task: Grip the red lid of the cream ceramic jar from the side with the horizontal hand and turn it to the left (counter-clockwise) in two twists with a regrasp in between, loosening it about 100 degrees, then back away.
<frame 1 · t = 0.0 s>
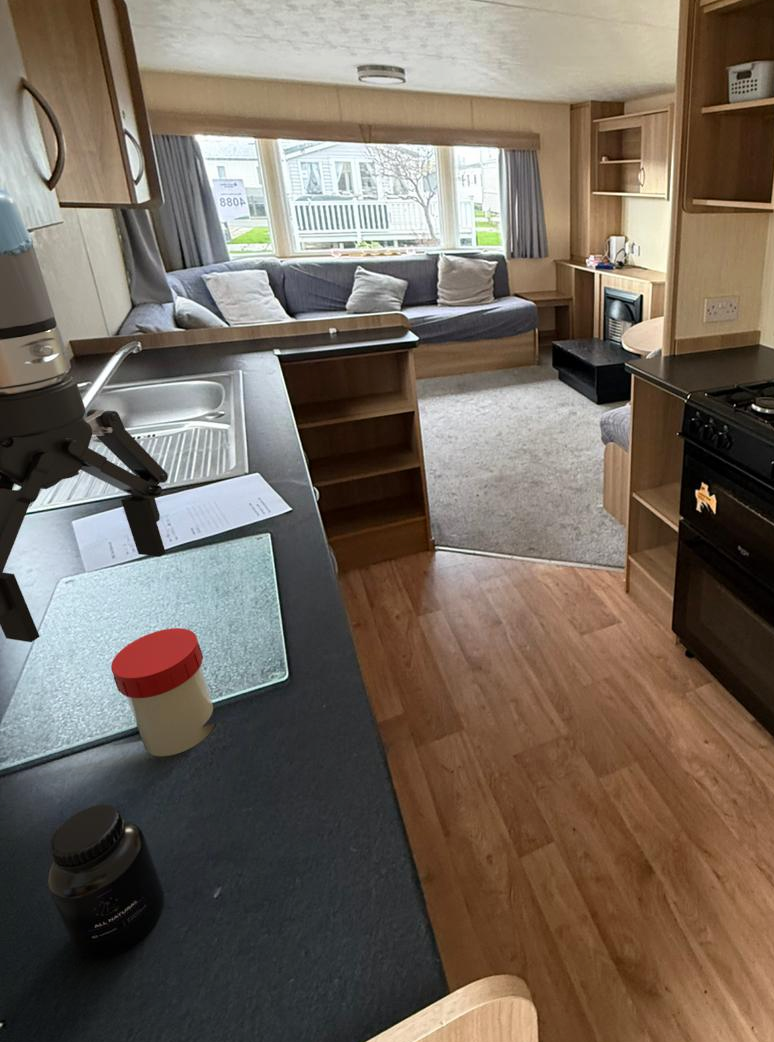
hand: (94, 591, 63), 26 cm above the counter, tool pointing down, fingers open, 13 cm apart
lid: (156, 655, 75), point 12 cm above the counter, screwed on, not yet turned
supplement bottle: (123, 921, 59), on the counter
jar: (181, 730, 79), on the counter
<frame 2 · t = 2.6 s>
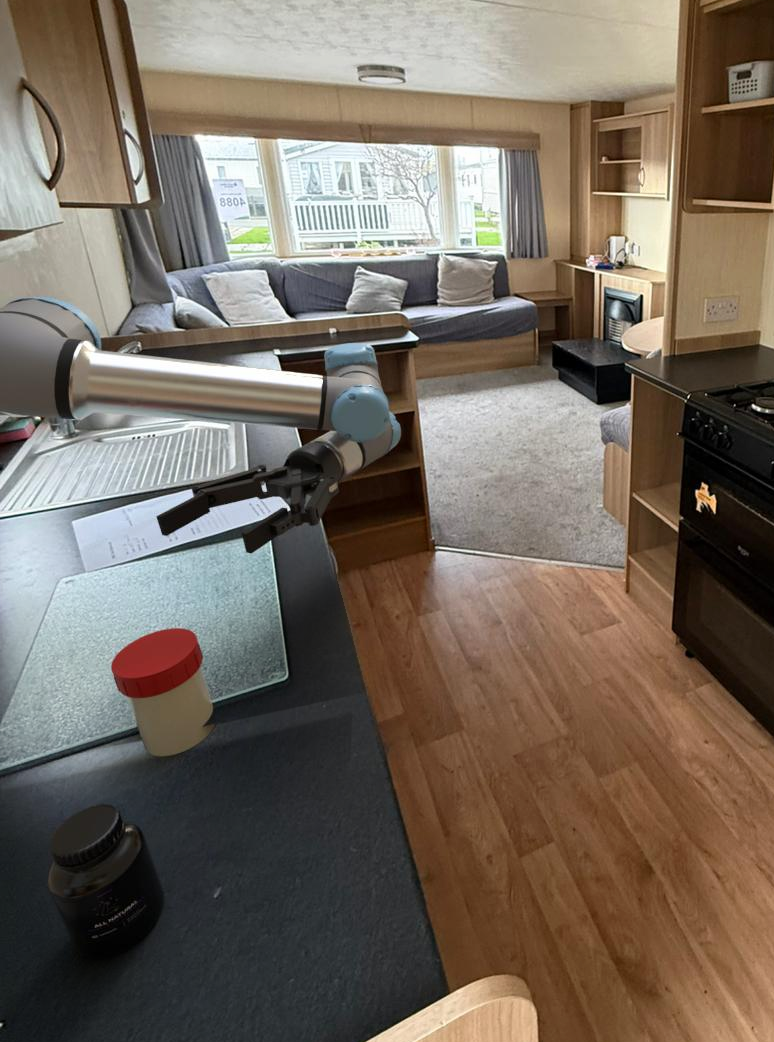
hand: (202, 534, 79), 22 cm above the counter, tool horizontal, fingers open, 13 cm apart
nothing on the counter moved.
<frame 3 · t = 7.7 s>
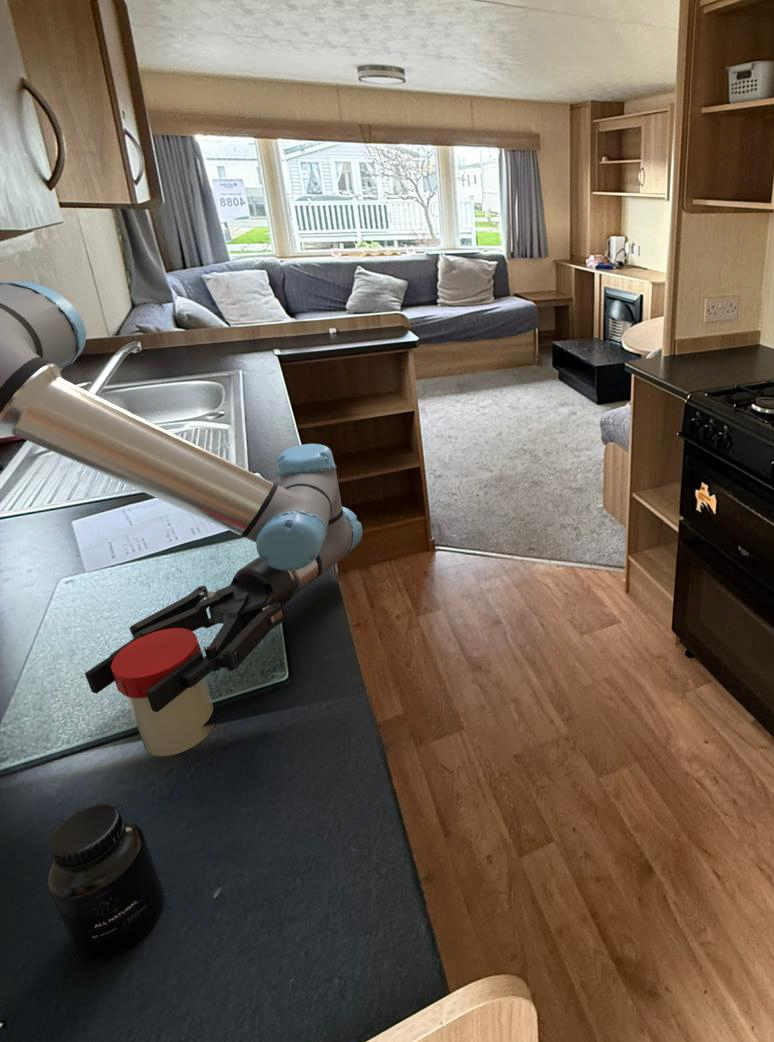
hand: (120, 692, 71), 10 cm above the counter, tool horizontal, fingers closed on lid, 8 cm apart
lid: (156, 655, 75), point 12 cm above the counter, screwed on, not yet turned, touching gripper
everything else where it was.
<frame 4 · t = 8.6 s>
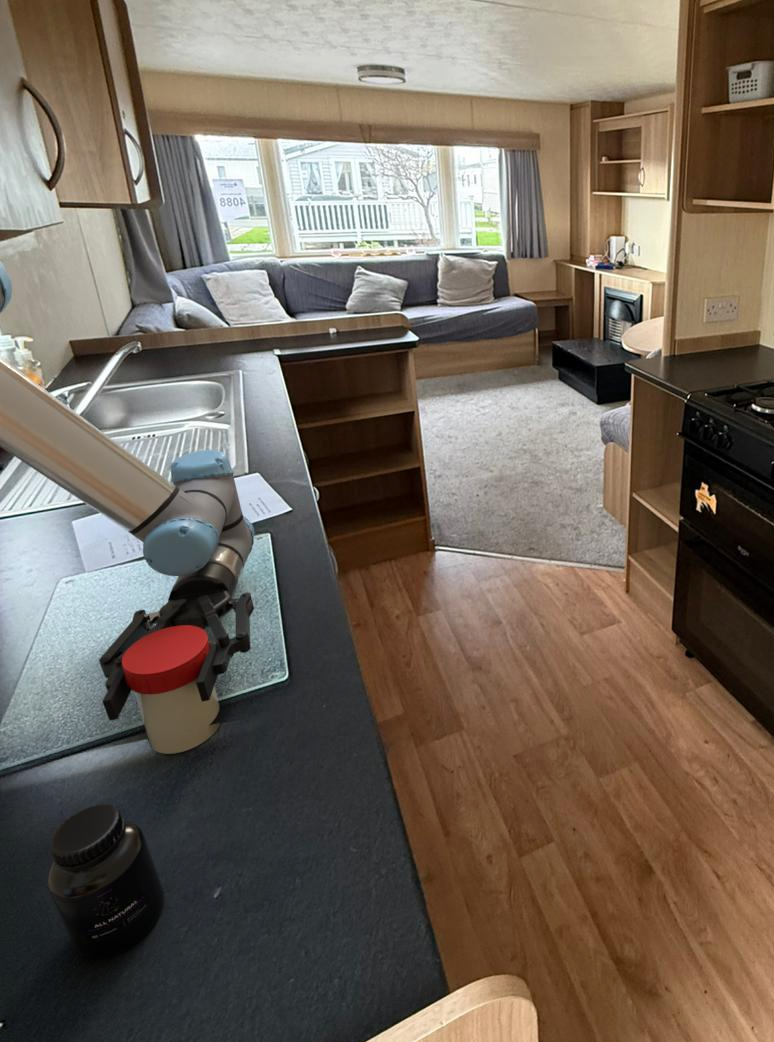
hand: (157, 700, 71), 9 cm above the counter, tool horizontal, fingers closed on lid, 8 cm apart
lid: (166, 651, 75), point 12 cm above the counter, turned 32° so far, risen 0.0 cm, still on its thread, touching gripper
jar: (186, 728, 79), on the counter
everything else where it was.
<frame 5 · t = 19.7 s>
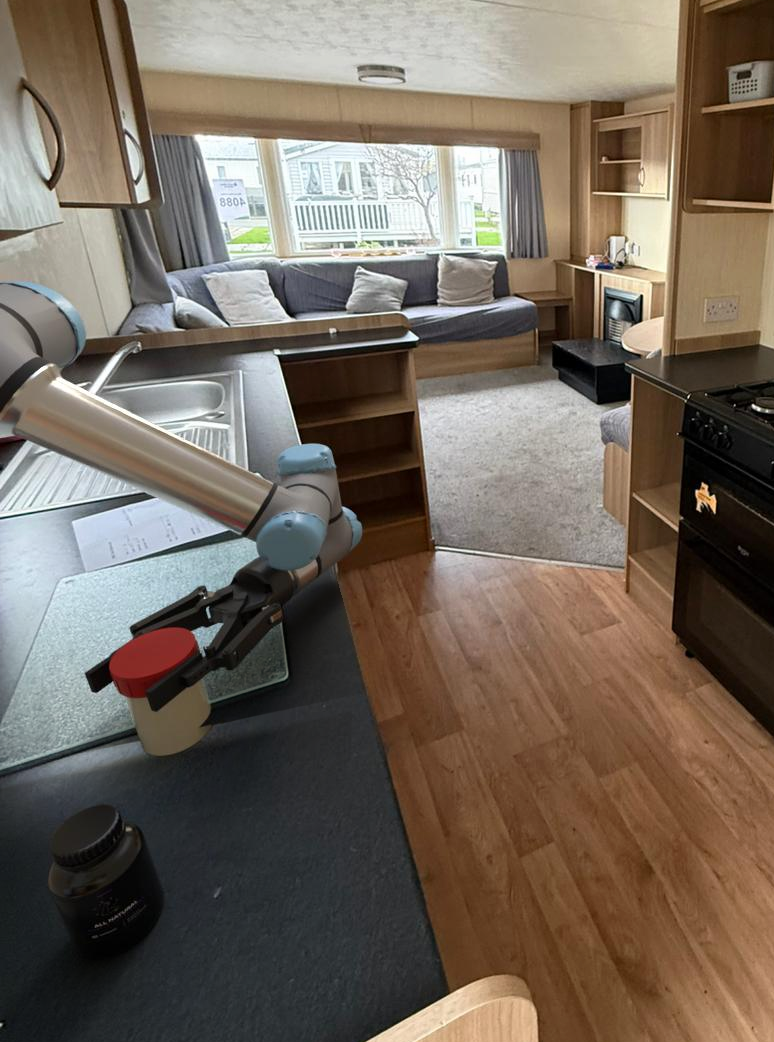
hand: (120, 692, 71), 10 cm above the counter, tool horizontal, fingers closed on lid, 8 cm apart
lid: (154, 654, 75), point 12 cm above the counter, turned 43° so far, risen 0.0 cm, still on its thread, touching gripper
jar: (178, 729, 79), on the counter
everything else where it was.
when the fingers open (9 cm above the counter, at t = 21.8 s): lid stays where it is, point 12 cm above the counter.
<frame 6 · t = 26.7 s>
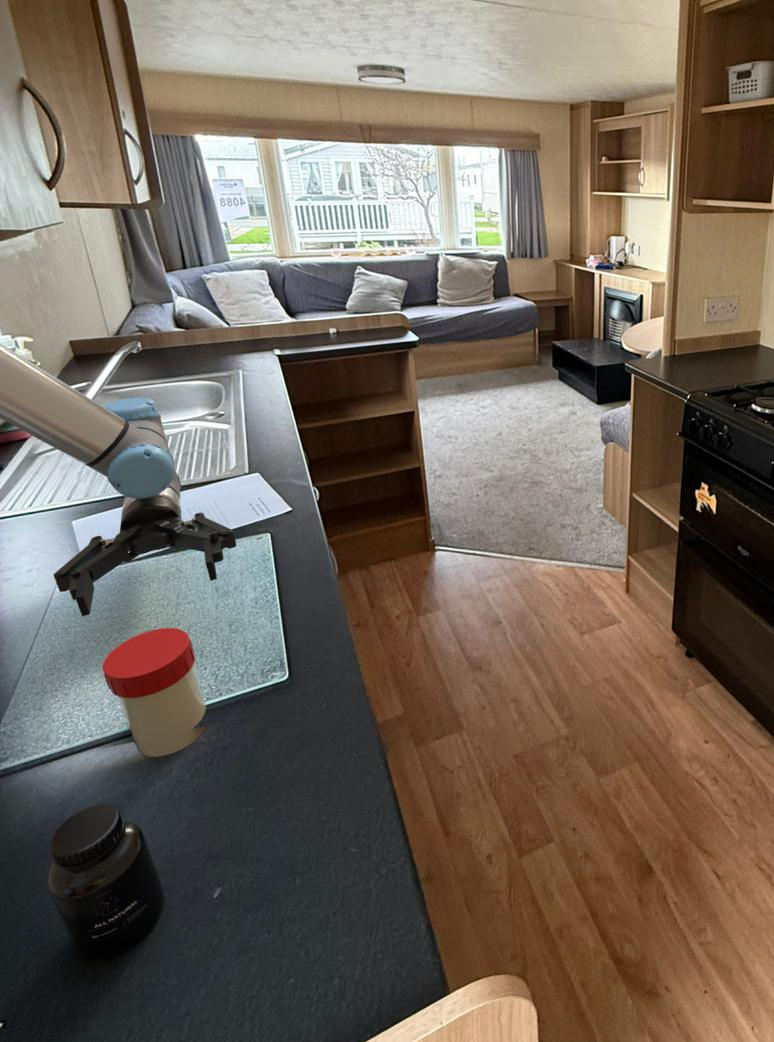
hand: (149, 588, 81), 15 cm above the counter, tool horizontal, fingers open, 13 cm apart
lid: (148, 655, 75), point 12 cm above the counter, turned 76° so far, risen 0.1 cm, still on its thread
everything else where it was.
at the end: lid turned 0.21 turns (still on its thread); jar tilted 0°; jar moved 0.9 cm from its start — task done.
